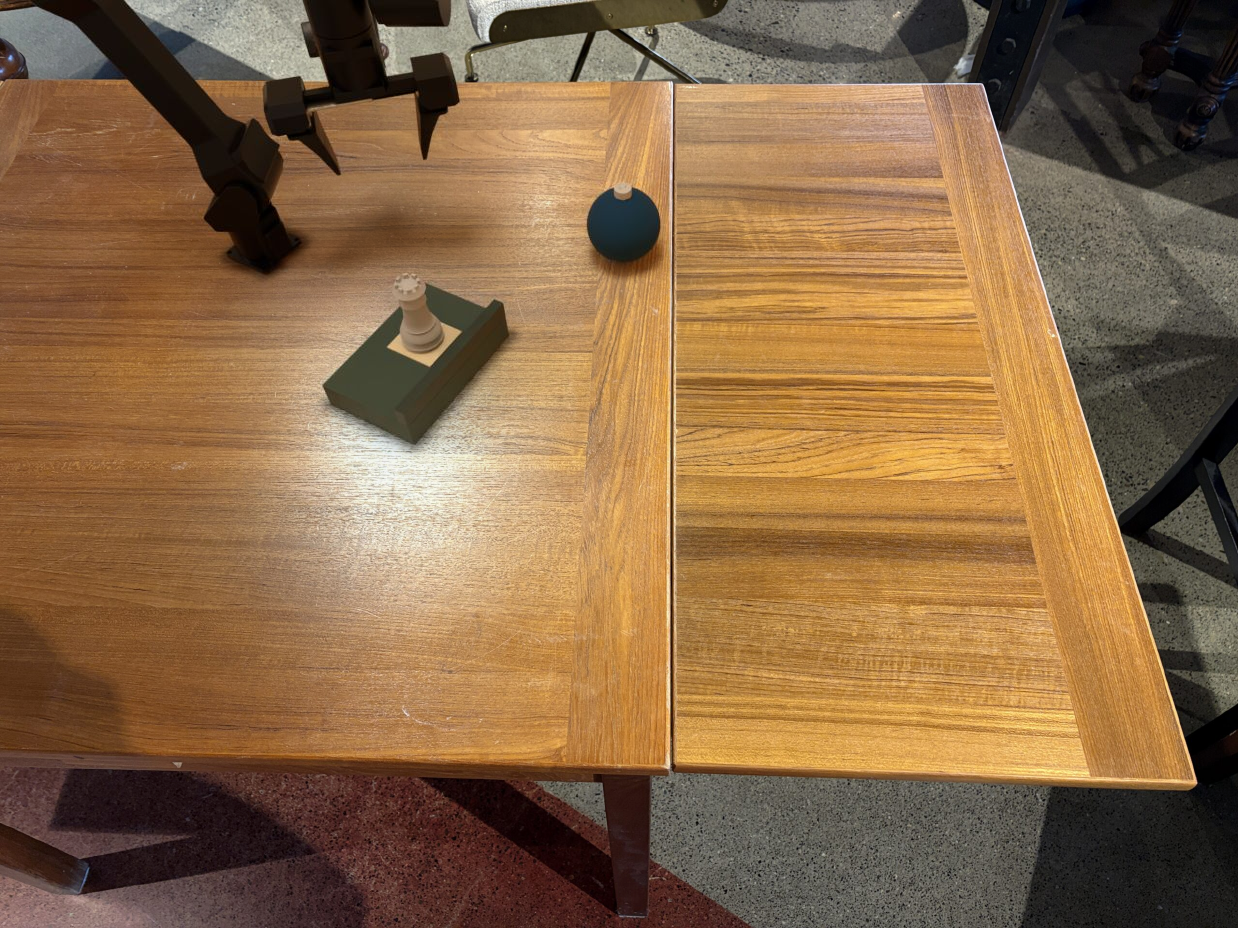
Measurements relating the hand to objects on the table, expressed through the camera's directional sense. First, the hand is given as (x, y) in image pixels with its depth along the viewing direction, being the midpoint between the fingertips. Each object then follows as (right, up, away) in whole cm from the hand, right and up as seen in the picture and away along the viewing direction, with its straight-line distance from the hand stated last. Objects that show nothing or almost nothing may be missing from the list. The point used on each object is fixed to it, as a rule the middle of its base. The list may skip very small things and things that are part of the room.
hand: (382, 165), depth 96 cm
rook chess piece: (+5, -19, -3) cm, 20 cm away
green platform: (+5, -22, -1) cm, 22 cm away
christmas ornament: (+26, -8, +9) cm, 29 cm away
